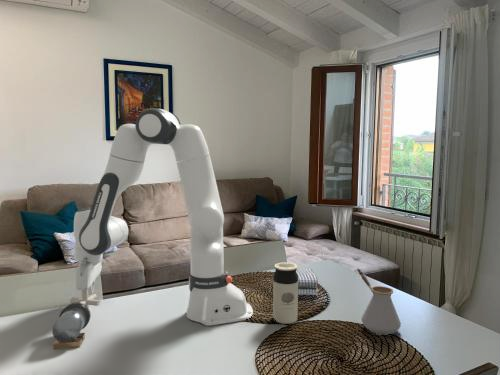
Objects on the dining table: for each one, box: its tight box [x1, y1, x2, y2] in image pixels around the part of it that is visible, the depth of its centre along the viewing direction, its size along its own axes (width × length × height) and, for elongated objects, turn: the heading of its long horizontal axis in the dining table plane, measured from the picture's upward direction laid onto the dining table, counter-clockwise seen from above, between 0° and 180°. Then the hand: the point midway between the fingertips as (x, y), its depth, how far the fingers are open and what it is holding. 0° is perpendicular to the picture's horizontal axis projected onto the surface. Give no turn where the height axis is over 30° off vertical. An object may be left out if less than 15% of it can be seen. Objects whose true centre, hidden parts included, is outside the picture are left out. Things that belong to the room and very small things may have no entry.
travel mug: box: [272, 262, 299, 325], centre depth 126 cm, size 8×8×18 cm
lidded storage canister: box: [51, 302, 92, 350], centre depth 112 cm, size 10×8×9 cm
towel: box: [296, 268, 319, 296], centre depth 155 cm, size 15×18×8 cm
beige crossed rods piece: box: [69, 289, 102, 310], centre depth 128 cm, size 10×10×10 cm
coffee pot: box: [354, 268, 402, 336], centre depth 124 cm, size 21×12×15 cm, turn 13°
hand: (90, 293), depth 134 cm, fingers closed
